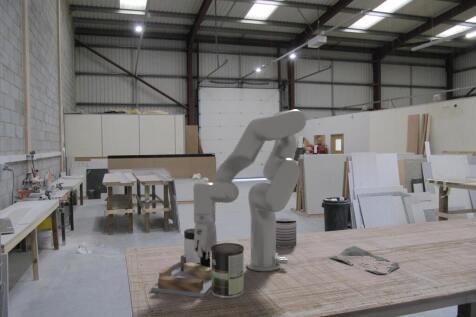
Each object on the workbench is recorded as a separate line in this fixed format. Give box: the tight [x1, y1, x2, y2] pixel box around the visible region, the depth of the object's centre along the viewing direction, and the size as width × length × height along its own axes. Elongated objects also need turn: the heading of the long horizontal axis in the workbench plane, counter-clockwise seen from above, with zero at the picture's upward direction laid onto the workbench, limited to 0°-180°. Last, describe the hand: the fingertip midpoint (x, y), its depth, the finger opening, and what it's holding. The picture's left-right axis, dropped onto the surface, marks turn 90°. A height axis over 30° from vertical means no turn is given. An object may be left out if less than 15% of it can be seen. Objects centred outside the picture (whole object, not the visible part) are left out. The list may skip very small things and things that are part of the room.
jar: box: [183, 227, 200, 264], centre depth 145 cm, size 9×8×12 cm
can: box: [276, 217, 297, 248], centre depth 167 cm, size 11×11×12 cm
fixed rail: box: [157, 276, 203, 293], centre depth 114 cm, size 14×3×3 cm, turn 74°
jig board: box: [150, 266, 212, 298], centre depth 122 cm, size 18×20×4 cm
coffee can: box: [210, 242, 245, 299], centre depth 114 cm, size 10×10×14 cm
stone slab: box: [328, 245, 401, 275], centre depth 141 cm, size 24×16×2 cm, turn 33°
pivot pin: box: [180, 254, 186, 271], centre depth 130 cm, size 2×2×5 cm
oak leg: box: [183, 262, 212, 280], centre depth 125 cm, size 12×3×3 cm, turn 50°
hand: (205, 269), depth 128 cm, fingers closed
